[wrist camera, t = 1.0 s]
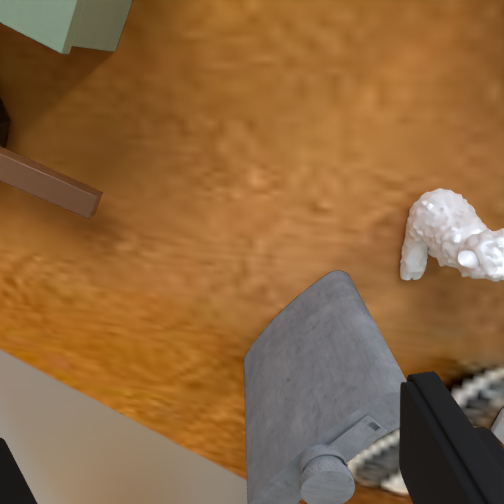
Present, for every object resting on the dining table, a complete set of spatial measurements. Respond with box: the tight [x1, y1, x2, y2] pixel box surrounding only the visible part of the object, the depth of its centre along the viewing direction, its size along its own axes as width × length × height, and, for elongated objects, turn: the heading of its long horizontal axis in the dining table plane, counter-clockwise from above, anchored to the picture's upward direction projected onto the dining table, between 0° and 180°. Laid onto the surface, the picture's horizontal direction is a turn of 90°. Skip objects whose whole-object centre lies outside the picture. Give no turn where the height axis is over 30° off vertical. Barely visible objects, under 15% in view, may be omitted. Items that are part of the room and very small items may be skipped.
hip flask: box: [244, 271, 407, 504], centre depth 36 cm, size 16×4×20 cm, turn 140°
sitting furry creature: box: [400, 189, 504, 282], centre depth 36 cm, size 10×9×12 cm
